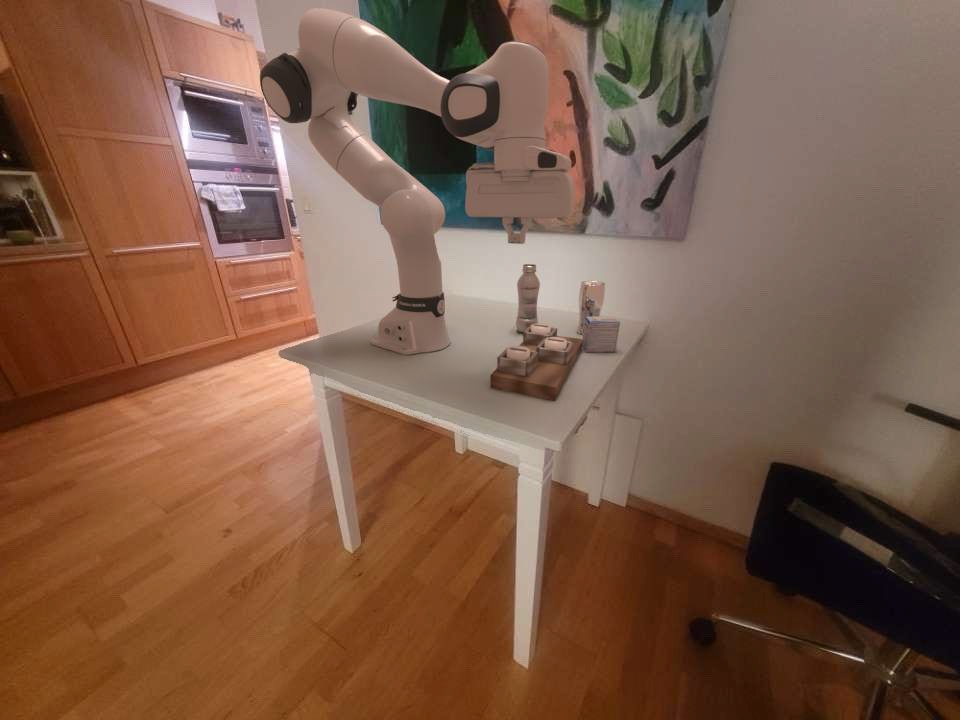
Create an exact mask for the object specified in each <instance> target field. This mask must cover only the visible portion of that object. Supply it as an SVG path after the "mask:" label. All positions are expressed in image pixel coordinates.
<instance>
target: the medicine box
mask: <svg viewBox="0 0 960 720" xmlns="http://www.w3.org/2000/svg"><path fill="white" fill-rule="evenodd" d="M620 325H621V321H620V320H619V319H618V318H617V317H615V316H611V315H610V316H609V315H608V316H599V317H585V323H584V332H583V335H582V339H583V344H582V349H583V348H584V349H583V350H584V352H585V353H612V352H613V353H614V352H616V350H617V344H618V337H619V331H620Z"/></svg>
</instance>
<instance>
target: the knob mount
mask: <svg viewBox="0 0 960 720" xmlns="http://www.w3.org/2000/svg"><path fill="white" fill-rule="evenodd" d="M522 334H523V335H522V336H523V337H522V338H523V339H522V340H523V341H521V342H520V344H519V345H518V346H524V347H527V348H529V349H530V358H529V359H528V360H527V361H521V360H515V359H509V358H507V348H509V347H510V346H509V347H506V348H505V349H504V350H503V351H502V352H501V353H500V354H499V355H498V356H497V357H496V361H497V363H496V369H495V370H494V371H492V372H491V373H490V374H489V375H490V376H489V379H490V380H489V384H490V385H489V387H490V388H491V389H496V390H501V391H505V392H510V393H514V394H520V395H525V396H530V397H534V398H539V399H543V400H549V401H554V402H555V401H557V398H558V396H559V394H560V392H561V390H562V388H563V387H564V385H565V382H566V381H567V379H568V377H569V375H570V373H571V371H572V369H573V368H572V367H574V365H575V363H576V362H577V360H578V358H579V356H580V354H581V352H582V350H583V347H582V344H583V338H578V337H577V338H575V337H570V336H569V337H568V336H562V335H558V328H557V327H553V326H551V332H550V334H549V335H545V334H538V333H531V325H530V326H529V327H528V328H527V329H526V330H525V331H524V333H522ZM549 337H560V338H564V339H566V340H567V347H566V350H565V351H562V350H555V349H549V348H544V345H545V339H546V338H549Z"/></svg>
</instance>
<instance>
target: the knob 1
mask: <svg viewBox="0 0 960 720" xmlns="http://www.w3.org/2000/svg"><path fill="white" fill-rule="evenodd" d="M506 348H507V347H506ZM507 358H509V359H515V360H521V361H527V360H528V359H529V358H530V349H529V348H527V347H524V346H519V345H512V346H509V348H507Z"/></svg>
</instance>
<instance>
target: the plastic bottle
mask: <svg viewBox="0 0 960 720" xmlns="http://www.w3.org/2000/svg"><path fill="white" fill-rule="evenodd" d="M521 272H523V273H522V274H521V276H520V277H519V278H518V280H517V282H516V284H517V285H516V286H517V297H518V299H517V300H518V308H517V316H516V320H515V328H516V330H517V331H518V332H519V333H522V334H523V333H524V331H525V330H526V329H527V328H528V327H529V326H530V325H532V324H536V323H539V319H538V308H537V307H538V299H539V292H540V287H541V283H540V279H539V277H538V276H537V275H536V272H537V265H536V264H533V263H526V264H523V265H522V271H521Z"/></svg>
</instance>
